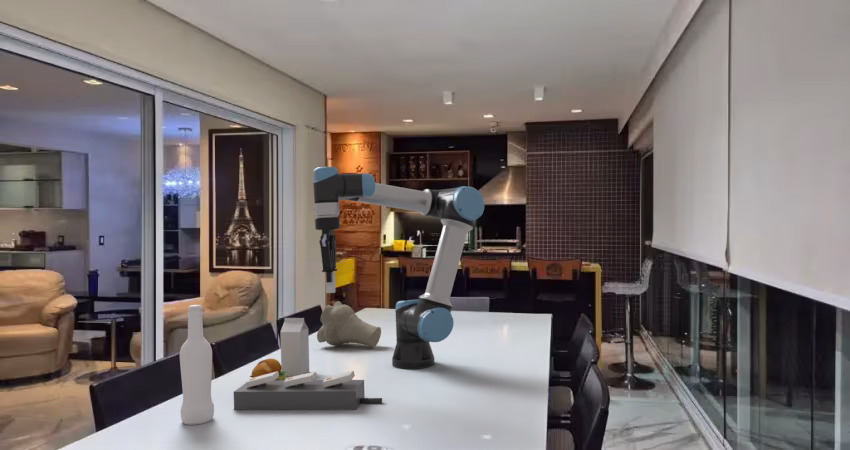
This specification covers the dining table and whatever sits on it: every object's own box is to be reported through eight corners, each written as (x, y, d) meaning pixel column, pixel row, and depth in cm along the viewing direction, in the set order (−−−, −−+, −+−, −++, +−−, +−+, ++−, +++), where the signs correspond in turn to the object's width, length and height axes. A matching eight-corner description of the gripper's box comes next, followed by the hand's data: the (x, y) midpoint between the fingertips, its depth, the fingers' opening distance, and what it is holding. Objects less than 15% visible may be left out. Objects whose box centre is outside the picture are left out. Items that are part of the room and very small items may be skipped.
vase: (401, 313, 251) (344, 295, 261) (381, 311, 231) (320, 293, 241) (387, 363, 249) (330, 344, 259) (366, 366, 229) (305, 345, 239)
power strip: (385, 397, 171) (384, 376, 171) (378, 409, 159) (377, 388, 159) (250, 397, 175) (250, 377, 175) (234, 409, 163) (233, 388, 163)
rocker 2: (316, 376, 170) (315, 370, 170) (312, 381, 165) (310, 375, 165) (290, 382, 170) (289, 376, 170) (284, 387, 165) (283, 381, 165)
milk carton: (301, 376, 198) (299, 319, 198) (281, 376, 199) (279, 319, 200) (309, 371, 205) (308, 316, 205) (290, 371, 206) (288, 316, 206)
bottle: (186, 416, 158) (183, 303, 158) (217, 414, 159) (215, 302, 159) (176, 426, 150) (173, 307, 150) (209, 424, 151) (206, 306, 151)
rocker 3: (354, 375, 169) (353, 370, 169) (351, 380, 164) (349, 374, 164) (328, 382, 169) (326, 377, 169) (323, 387, 164) (322, 381, 164)
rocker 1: (279, 376, 170) (277, 370, 170) (273, 380, 165) (271, 374, 165) (253, 383, 171) (251, 377, 171) (246, 387, 166) (245, 382, 166)
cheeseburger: (294, 383, 189) (289, 354, 187) (276, 400, 179) (271, 370, 177) (267, 381, 193) (262, 352, 190) (247, 397, 183) (242, 368, 180)
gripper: (320, 217, 191) (323, 290, 191) (309, 217, 178) (313, 295, 178) (343, 216, 191) (346, 289, 191) (334, 216, 178) (338, 294, 178)
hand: (330, 292), depth 185 cm, fingers closed
